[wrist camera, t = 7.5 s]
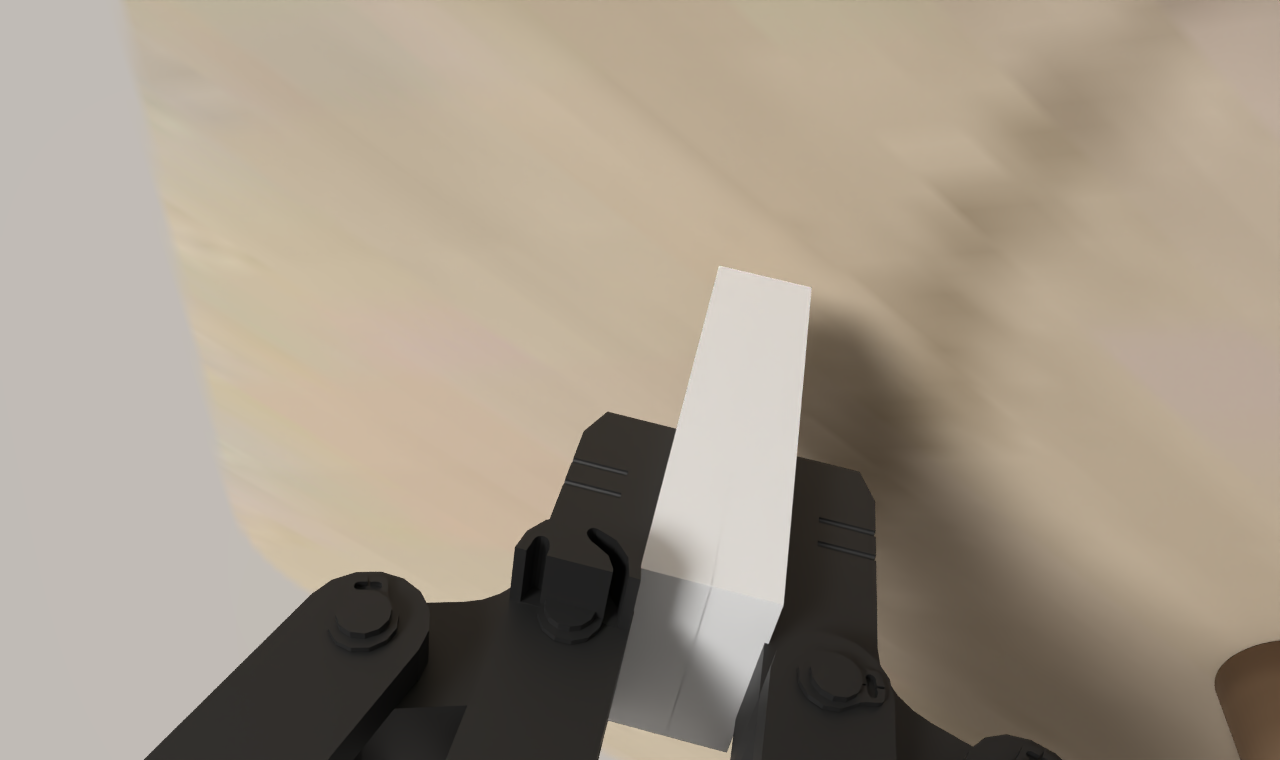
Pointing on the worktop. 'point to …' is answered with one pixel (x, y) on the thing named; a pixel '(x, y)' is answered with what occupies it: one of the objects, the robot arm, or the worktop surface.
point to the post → (1252, 700)
